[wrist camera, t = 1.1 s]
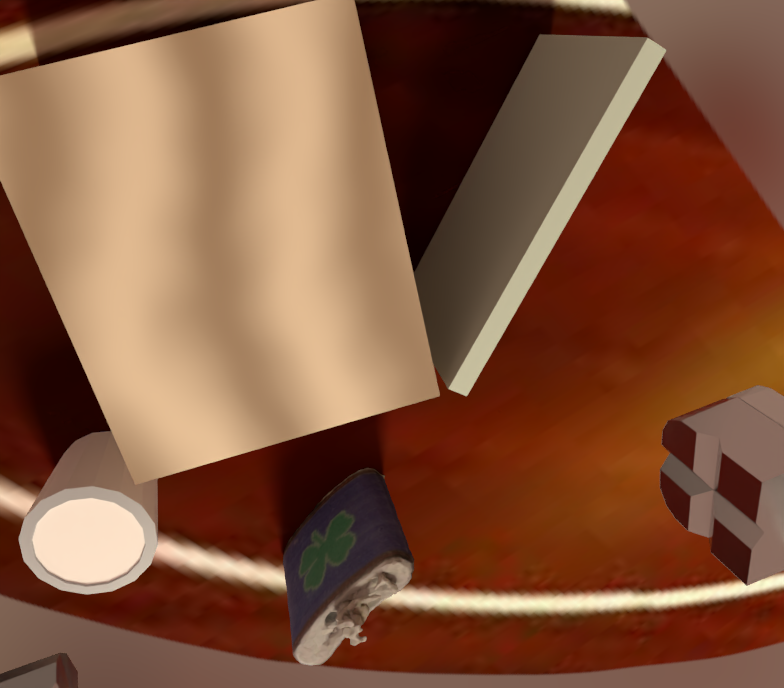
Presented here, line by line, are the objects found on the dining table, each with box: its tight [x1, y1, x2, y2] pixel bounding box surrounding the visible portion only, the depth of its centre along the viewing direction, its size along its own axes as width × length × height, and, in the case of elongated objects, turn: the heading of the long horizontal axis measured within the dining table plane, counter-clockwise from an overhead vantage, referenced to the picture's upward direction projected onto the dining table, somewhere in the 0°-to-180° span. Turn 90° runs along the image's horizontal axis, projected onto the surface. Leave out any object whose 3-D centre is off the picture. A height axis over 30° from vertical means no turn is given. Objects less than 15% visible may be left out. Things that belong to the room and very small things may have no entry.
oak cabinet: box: [0, 0, 440, 485], centre depth 35 cm, size 14×17×12 cm
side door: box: [414, 35, 666, 396], centre depth 37 cm, size 2×17×12 cm, turn 152°
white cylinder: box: [19, 431, 158, 594], centre depth 42 cm, size 7×7×7 cm
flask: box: [283, 468, 414, 666], centre depth 45 cm, size 9×3×11 cm, turn 136°
